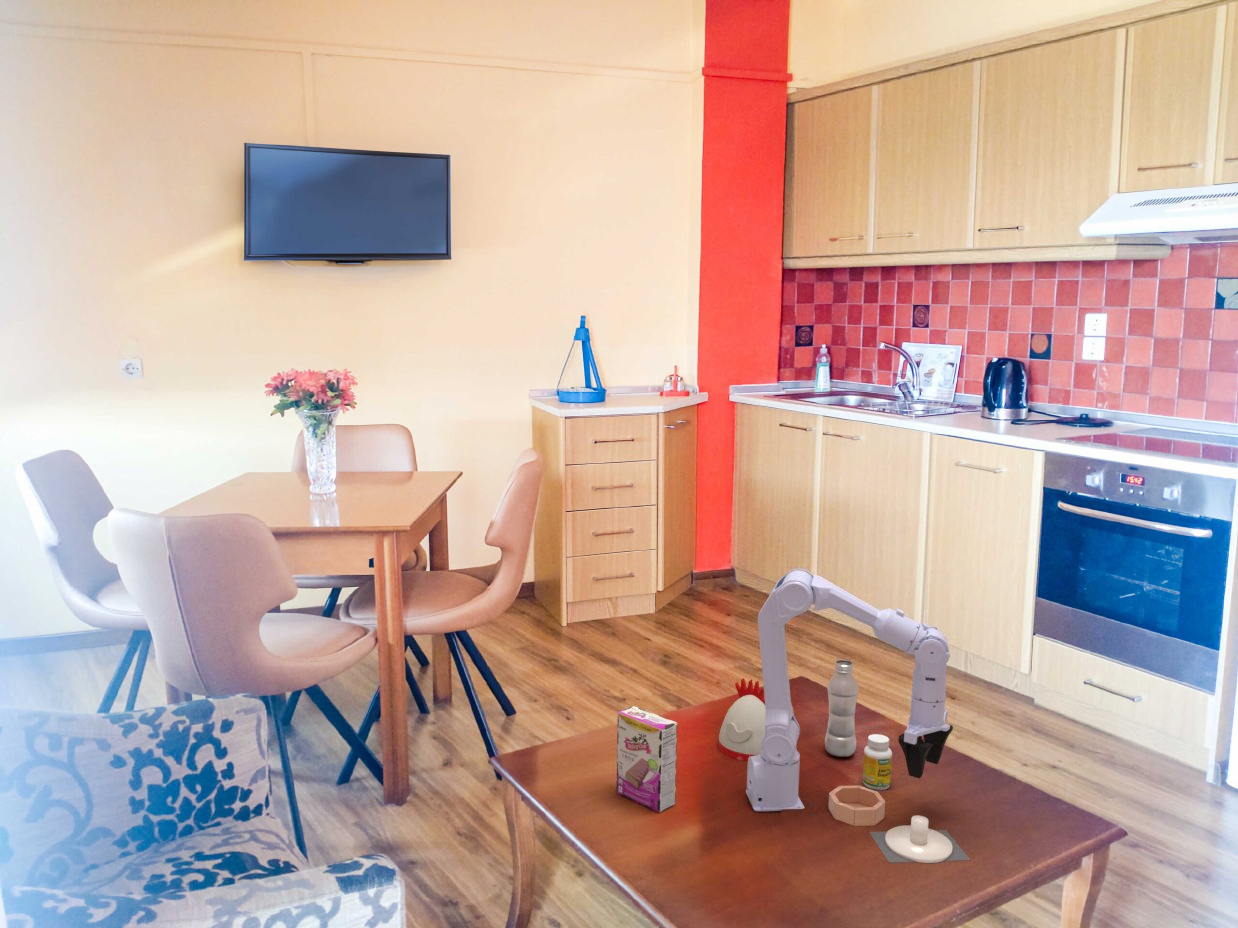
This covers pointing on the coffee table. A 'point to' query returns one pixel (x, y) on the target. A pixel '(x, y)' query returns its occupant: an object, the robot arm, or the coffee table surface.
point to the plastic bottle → (841, 710)
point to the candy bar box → (646, 758)
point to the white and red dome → (744, 723)
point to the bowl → (856, 805)
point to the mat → (893, 858)
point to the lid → (918, 842)
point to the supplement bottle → (877, 763)
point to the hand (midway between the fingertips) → (923, 769)
